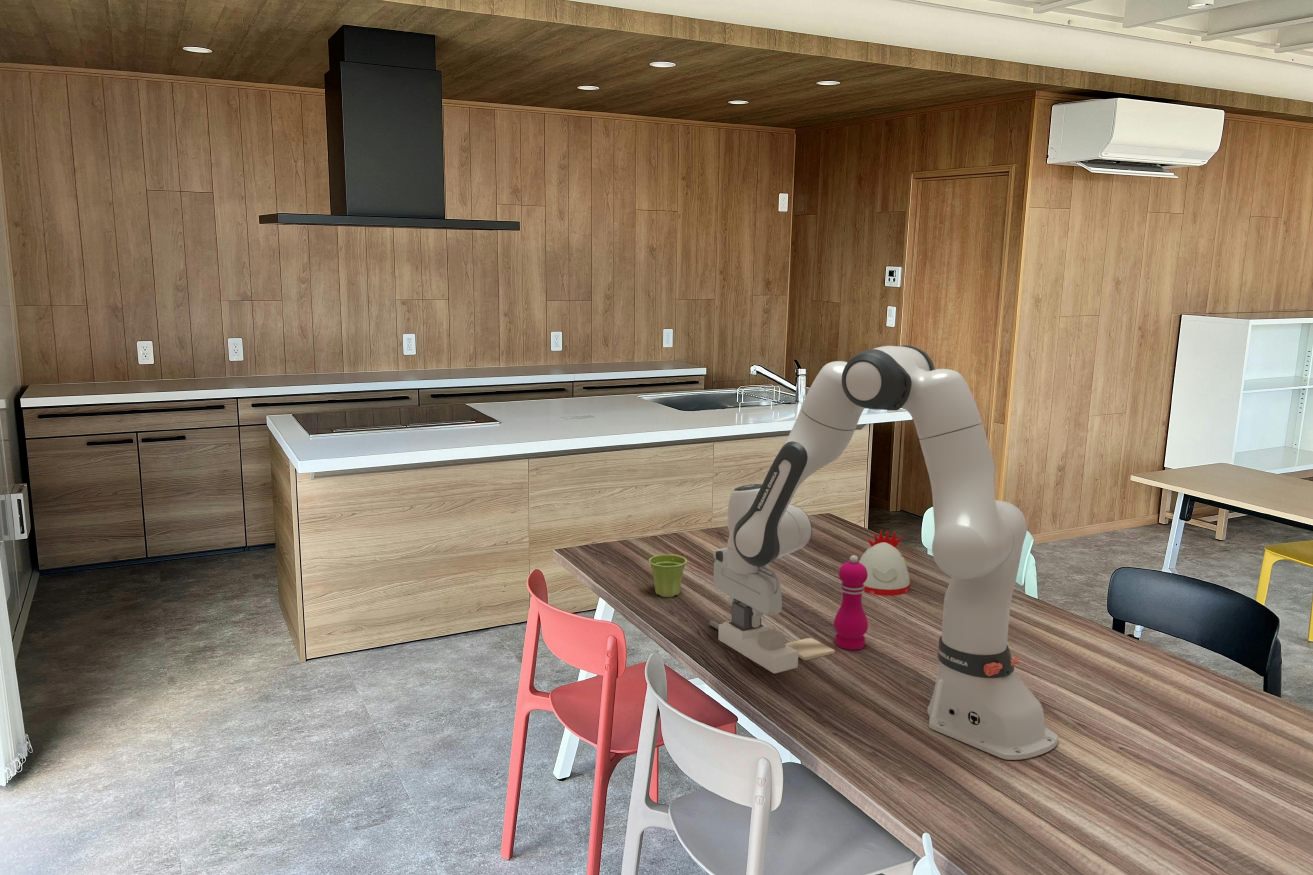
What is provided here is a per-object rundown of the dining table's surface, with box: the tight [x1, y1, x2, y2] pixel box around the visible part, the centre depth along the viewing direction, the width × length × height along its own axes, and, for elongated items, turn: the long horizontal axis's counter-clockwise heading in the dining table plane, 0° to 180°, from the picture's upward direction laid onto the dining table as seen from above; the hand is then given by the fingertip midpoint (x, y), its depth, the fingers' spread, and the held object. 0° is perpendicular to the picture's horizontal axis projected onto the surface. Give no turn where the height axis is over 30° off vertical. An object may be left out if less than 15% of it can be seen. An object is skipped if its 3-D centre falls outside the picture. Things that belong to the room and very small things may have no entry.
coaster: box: [785, 637, 836, 661], centre depth 195 cm, size 8×8×1 cm
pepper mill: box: [833, 554, 869, 651], centre depth 197 cm, size 7×7×20 cm
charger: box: [730, 601, 762, 631], centre depth 196 cm, size 4×4×6 cm
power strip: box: [709, 619, 799, 674], centre depth 196 cm, size 28×7×6 cm, turn 30°
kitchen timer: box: [858, 529, 911, 597], centre depth 235 cm, size 14×14×15 cm
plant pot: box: [648, 554, 688, 598], centre depth 229 cm, size 9×9×9 cm
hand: (746, 621), depth 196 cm, fingers closed on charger, 4 cm apart
